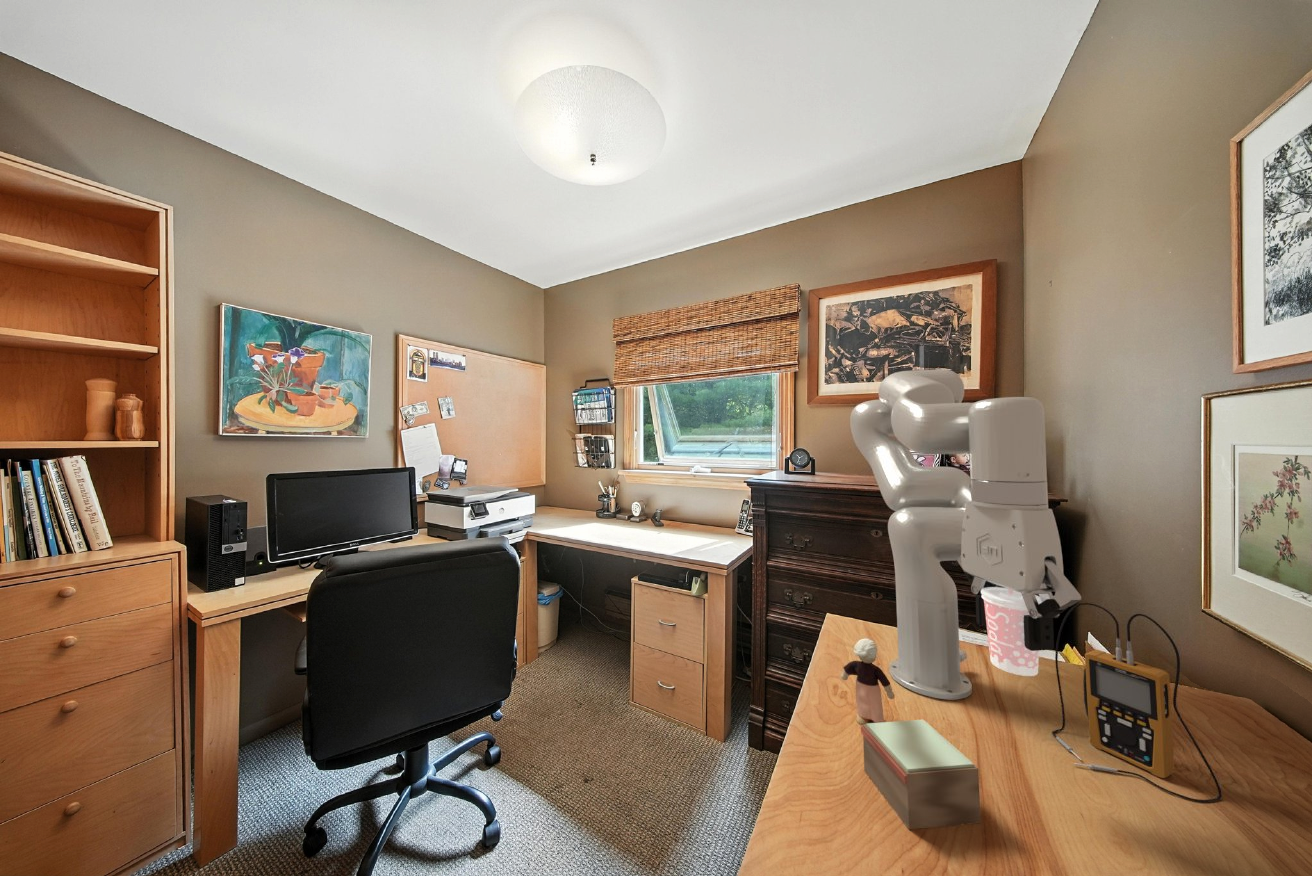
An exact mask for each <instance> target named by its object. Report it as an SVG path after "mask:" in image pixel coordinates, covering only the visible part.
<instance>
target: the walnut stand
mask: <svg viewBox="0 0 1312 876" xmlns="http://www.w3.org/2000/svg"><path fill="white" fill-rule="evenodd" d="M860 733H861V734H862V736H863V737H862V739H863V744H862V745H863V766H864V767H863V768H864V769H863V771H864V773H865V774H866V776H867V777H868V778H869V779H870V780H871V782H872V783H873V784H874V786H875V787H876V788H877V790H878V791H879V793H881V795H882V797H883V798H884V799H885V800H886V801H887V802H888V804H889V806H891V808H892V810H894V812H895V813H896V815H897V816H898V817H899V818H900V820H901V821H902V823H904V825H905V826H906V827H907V829H908V830H919V829H928V828H938V827H939V828H940V827H949V826H952V827H953V826H961V824H962V825H972V824H971V823H973V824H981V823H980V822H982V821H981V819H982V818H981V817H982V816H981V798H980V793H981V792H980V776H979V775H980V772H979V767H978V766H976V765H975V764H974V763H973V761H971V760H970V759H969V758H968V757H966V756H965V754H963V753H962V752H961V751H959V750H958V748H956V747H955V746H954V745H953V744H952V743H950V742H949V740H947V739H946V737H943V735H941V733H939V731H937V730H936V729H935V728H933V726H931V725H930V724H929V723H928V722H927V721H925V719H914V720H913V719H911V720H896V721H886V722H881V723H873V722H869V723H867V724H864V725H861V726H860ZM969 823H970V824H969Z"/></svg>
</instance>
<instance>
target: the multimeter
mask: <svg viewBox="0 0 1312 876" xmlns="http://www.w3.org/2000/svg"><path fill="white" fill-rule="evenodd" d="M1085 605H1089V606H1094V607H1096V608H1098V609H1102V610H1103V611H1105V612H1106V613H1108V614H1109V616H1110V617H1111V618H1112V619H1113V621H1114V623H1115V629H1116V639H1115V640H1116V641H1115V642H1116V643H1115V644H1116V647H1115V654H1112V653H1110V652H1106V651H1105V650H1099V649H1094V650H1091V651H1089V652H1086V653H1084V661H1085V662H1084V663H1085V666H1084V667H1085V668H1083V669H1084V670H1083V681H1082V682H1083V702H1084V708H1085V713H1086V716H1087V718H1088V728H1089V729H1088V730H1089V742H1090V744H1091V745H1092V746H1093V747H1094V748H1097V749H1098V750H1100V751H1104V752H1106V753H1109V754H1111V755H1113V756H1115V757H1118V758H1119V759H1122V760H1123V761H1126V762H1127V763H1129V764H1132V765H1134V766H1136V767H1138V768H1141V769H1143V770H1145V771H1147V772H1149V773H1151V775H1153V776H1155V777H1158V778H1160V779H1165V778H1168V777H1169V776H1170V775H1171V774H1173V773H1174V772H1175V760H1174V759H1175V758H1174V755H1175V753H1174V734H1173V733H1174V732H1173V731H1174V729H1173V713H1172V704H1173V709H1174V712H1175V715H1177V717H1178V719H1179V721H1180V722H1181V724H1182V726H1183V728H1184V730H1185V731H1186V733H1187V735H1188V736H1189V737H1190V740H1191V742H1193V744H1194V746H1195V748H1196V749H1197V751H1198V753H1199V755H1200V756H1201V758H1202V759H1203V760H1202V761H1204V764H1205V765H1206V767H1207V769H1208V771H1209V773H1210V774H1211V777H1212V779H1213V781H1214V784H1215V787H1216V788H1217V794H1218V795H1217V796H1216V797H1215V798H1210V799H1209V798H1208V799H1197V798H1194V797H1189V796H1185V795H1182V794H1179V793H1177V792H1173V791H1172V790H1169V789H1167V788H1165V787H1163V786H1161V785H1158V784H1157V783H1155V782H1153V781H1151V780H1150V779H1149V778H1148V777H1145V776H1143V775H1141V774H1138V773H1136V772H1131V771H1127V770H1121V769H1117V768H1113V767H1109V766H1103V765H1098V764H1097V765H1096V764H1092V763H1089V764H1082V763H1079V762H1078V763H1077V762H1073V763H1072V765H1076V766H1079V767H1080V766H1082V767H1087V768H1089V769H1091V770H1098V771H1102V772H1103V771H1104V772H1108V773H1109V772H1110V773H1122V774H1123V773H1124V774H1127V775H1133V776H1137V777H1138V778H1142V779H1143V780H1145V781H1147V782H1148V783H1150V784H1152V785H1153V786H1155V787H1157V788H1159V789H1160V790H1162V791H1165V792H1167V793H1169V794H1172V795H1175V796H1176V797H1180V798H1183V799H1185V800H1188V801H1193V802H1198V803H1215V802H1218V801H1221V799H1222V798H1223V794H1222V788H1221V786H1220V784H1219V781H1218V779H1217V777H1216V776H1215V773H1214V771H1213V770H1212V767H1211V766H1210V764H1209V762H1208V760H1207V758H1206V756H1205V754H1204V753H1203V751H1202V750H1201V748H1200V747H1199V744H1197V742H1196V740H1195V738H1194V736H1193V735H1192V733H1191V732H1190V729H1189V728H1188V726H1187V725H1186V723H1185V721H1184V720H1183V718H1182V716H1181V714H1180V712H1179V711H1178V710H1179V709H1178V707H1177V696H1178V694H1177V693H1178V687H1179V682H1180V681H1179V680H1180V673H1181V672H1180V671H1181V658H1180V653H1179V650H1178V648H1177V646H1176V644H1175V642H1174V641H1173V638H1172V637H1171V635H1170V634H1169V633H1168V632H1167V631H1166V630H1165V628H1164V627H1162V626H1161V625H1160V624H1159V623H1158V622H1157V621H1156V620H1154V619H1153V618H1151V617H1150V616H1148V615H1146V614H1144V613H1136V614H1133V615H1132V616H1131V617H1129V619H1128V621H1127V625H1126V636H1127V637H1126V638H1127V640H1126V648H1127V650H1126V658H1124V657H1123V648H1121V638H1120V626H1119V625H1120V624H1119V622H1118V620H1117V618H1116V617H1115V616H1114V615H1113V614H1112V613H1111V612H1110V611H1109V610H1108V609H1106V608H1104V606H1103V607H1102V606H1101V605H1098V604H1096V603H1090V602H1078V603H1077V604H1076V605H1075V604H1074V605H1072V606H1071V608H1070V609H1069V610H1068V611H1067V612H1066V614H1065V616H1064V617H1063V619H1062V622H1061V624H1060V627H1059V630H1058V634H1057V638H1056V644H1055V657H1054V659H1055V660H1054V661H1055V671H1056V679H1057V686H1058V691H1059V699H1060V705H1061V706H1060V707H1061V713H1062V714H1061V715H1062V725H1061V727H1060V728H1058V729H1055V730H1052V731H1051V735H1052V736H1053V737H1054V738H1055V739H1056V740H1057V741H1058V742H1059V743H1060V744H1061V745H1062V746H1063V747H1064V748H1065V749H1066V750H1067V751H1068V752H1069V753H1072V754H1073V755H1074V756H1075V757H1076V758H1077V759H1079V760H1080V761H1082V759H1081V757H1080V756H1079V755H1077V753H1076V752H1074V748H1071V746H1069V745H1068V744H1067V743H1066V742H1065V741H1064V740H1063V739H1061V738H1060V737H1059V736H1057V735H1056V734H1055V733H1058V732H1062V731H1063V730H1065V726H1066V718H1065V717H1066V715H1065V706H1064V700H1063V692H1062V687H1061V680H1060V672H1059V658H1058V657H1059V656H1058V654H1059V644H1060V640H1061V635H1062V631H1063V628H1064V625H1065V623H1066V621H1067V619H1068V618H1069V616H1070V614H1071V613H1072V612H1073V611H1074V610H1075V609H1076V608H1077V607H1080V606H1085ZM1137 617H1144V618H1147V619H1148V620H1150V622H1152V623H1153V624H1154V625H1156V626H1157V627H1158V628H1159V629H1160V630H1161V631H1162V632H1163V633H1164V634H1165V636H1166V637H1167V638H1168V640H1169V641H1170V644H1171V645H1172V647H1173V649H1174V652H1175V655H1176V656H1175V657H1176V673H1175V681H1174V687H1173V688H1174V689H1173V696H1172V695H1171V681H1170V673H1168V672H1167V671H1165V670H1164V669H1161V668H1159V667H1156V666H1150V665H1148V664H1147V665H1146V664H1144V663H1141V662H1138V661H1134V652H1133V650H1132V649H1133V648H1132V641H1131V624H1132V621H1133V620H1134V618H1137ZM1171 696H1172V697H1171ZM1171 698H1172V699H1171Z"/></svg>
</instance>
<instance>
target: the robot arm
mask: <svg viewBox="0 0 1312 876" xmlns="http://www.w3.org/2000/svg"><path fill="white" fill-rule="evenodd" d="M877 395H878V399H872V400H868V401H864V402H862V403H859V404H857V405H856V406H855V407H854V408H853V409H852V410H851V413H850V418H849V419H850V420H849V423H850V424H849V425H850V431H851V435H852V439H853V442H854V443H855V446H856V447H857V449H858V451H859V452H860V453H861V455H862V456H863V457H864V459H865V460H866V461H867V462H868V464H869V466H870V468H871V469H872V474H873V477H874V479H875V480H876V483H877V486H878V489H879V491H880V494H881V497H882V498H883V500H884V502H885V504H886V506H887V507H888V508H889V509H890V510H891V511H894V512H893V513H892V514H890V517H889V519H888V522H887V531H888V536H889V537H888V538H889V543H890V546H891V551H892V557H893V563H894V573H895V574H894V578H895V579H894V580H895V597H896V598H895V599H896V600H895V601H896V627H897V628H896V629H897V650H898V651H897V652H898V654H897V655H898V657H897V659H894V660H892V661H891V662H890V663H889V667H888V668H889V674H890V676H891V677H892V678H893V679H894V681H895V682H896V683H898V684H899V685H901V686H902V687H904V688H906V689H908V690H910V691H912V692H914V693H917V694H920V695H923V696H926V697H929V698H933V699H940V700H951V701H952V700H962V699H965V698H968V697H970V695H972V691H973V686H972V682H971V681H970V679H969V678H968V677H967V676H966V674H963V673H962V672H961V663H962V662H965V661H966V660H967V658H968V655H967V653H966V652H965V651H964V650H962V649H960V634H959V630H960V629H959V628H960V627H959V609H958V608H959V606H958V604H959V603H958V591H957V587H956V586H957V585H956V584H955V582H954V580H953V578H952V577H951V576H950V575H949V573H948V572H946V570H945V569H944V568H943V567H942V566H941V562H944V561H947V562H949V561H957V563H958V565H959V566H960V567H961V569H962V570H963V572H964V574H965V577H966V578H967V580H968V582H969V583H970V585H971V587H970V590H971V593H973V594H974V595H975V617H976V619H975V620H976V624H977V625H978V626H981V627H987V624H986V615H985V605H984V599H983V598H982V597H981V596H982V594H981V590H982V589H983V588H987V587H1001V588H1007V589H1010V590H1013V591H1016V592H1020V593H1021V594H1022V597H1023V599H1024V602H1025V605H1026V607H1027V610H1028V613H1029V615H1024V645H1025V647H1026V648H1027V649H1029V650H1031V651H1039V652H1040V651H1051V650H1054V648H1055V635H1054V632H1055V631H1054V618H1055V619H1056V618H1059V616H1060V614H1062V613H1063V612H1065V611H1067V610H1068V608H1069V607H1073V606H1075V604H1076V603H1077V604H1078V603H1080V601H1082V596H1081V594H1080V593H1079V592H1078V590H1077V588H1075V586H1074V585H1073V584H1072V583H1071V581H1070V580H1069V579H1068V578H1067V577H1066V576H1065V574H1064V563H1063V562H1064V561H1063V553H1062V545H1061V537H1060V534H1059V530H1058V526H1057V522H1056V517H1055V515H1054V512H1053V509H1052V508H1049V496H1048V476H1047V472H1048V471H1047V470H1048V469H1047V449H1046V447H1047V445H1046V444H1047V443H1046V421H1045V420H1046V417H1045V414H1046V413H1045V408H1044V405H1043V403H1042V401H1040V400H1039V399H1037V398H1034V397H1031V396H1030V397H1029V396H1027V397H1026V396H1012V397H1011V396H1010V397H1009V396H1008V397H1007V396H1006V397H998V398H997V397H996V398H995V397H994V398H986V399H982V400H978V401H976V402H962V401H963V399H964V396H965V384H964V382H963V379H962V378H961V376H960V375H959V374H958V373H956V372H955V371H953V370H950V369H945V368H939V369H919V370H918V369H914V370H902V371H897V372H894V373H891V374H889V375H888V376H886V377H885V378H884V379H883V380H882V381H881V382H880V384H879V387H878V394H877ZM892 437H895V438H896V439H897V440H896V439H894V438H892ZM911 451H913V452H914V453H918V454H922V455H956V454H957V455H958V454H959V455H963V454H965V455H969V471H970V472H969V473H970V476H969V474H967V473H966V472H965V471H963V470H962V469H960V468H958V467H952V466H924V465H920V464H918V462H917V461H916V459H915V457H914V455H913V453H912V452H911ZM1052 592H1054V595H1053V593H1052ZM1035 595H1038V596H1039V597H1040V599H1041V601H1042V603H1040V604H1038V602H1037V599H1036V596H1035Z"/></svg>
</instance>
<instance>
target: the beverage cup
mask: <svg viewBox="0 0 1312 876" xmlns="http://www.w3.org/2000/svg"><path fill="white" fill-rule="evenodd" d="M981 594H982V596H981V597H982V598H983V599H984V605H985V615H986V624H987V626H986V631H987V640H988V650H989V657H990V658H989V659H990V663H991V664H992V666H994V667H996V668H998V669H999V670H1002V671H1004V672H1007V673H1010V674H1014V675H1017V676H1023V677H1035V676H1037V675H1038V673H1039V663H1040V662H1039V661H1040V660H1039V659H1040V657H1039V656H1040V650H1039V651H1031V650H1029V649H1027V648H1026V647H1025V645H1024V615H1029V613H1028V610H1027V607H1026V605H1025V602H1024V599H1023V597H1022V594H1021V593H1020V592H1016V591H1013V590H1010V589H1007V588H1005V587H1001V586H999V587H987V588H983V589H982V590H981ZM1035 596H1036V599H1037V602H1038V604H1040V603H1042V601H1041V599H1040V596H1039V595H1038V594H1035Z"/></svg>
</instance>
